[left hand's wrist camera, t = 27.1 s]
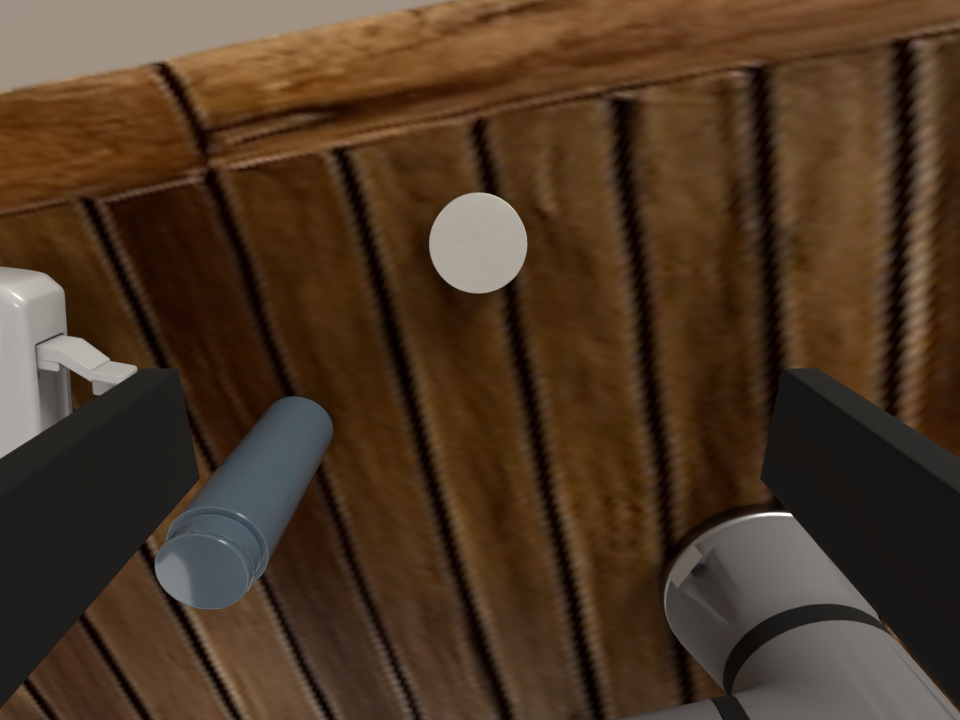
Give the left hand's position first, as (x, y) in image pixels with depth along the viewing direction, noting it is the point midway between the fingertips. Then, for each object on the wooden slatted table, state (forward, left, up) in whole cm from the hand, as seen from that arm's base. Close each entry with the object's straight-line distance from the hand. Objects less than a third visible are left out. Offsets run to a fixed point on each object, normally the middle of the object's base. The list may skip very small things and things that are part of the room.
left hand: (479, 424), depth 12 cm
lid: (0, 0, -25) cm, 25 cm away
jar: (-10, +17, -26) cm, 33 cm away
